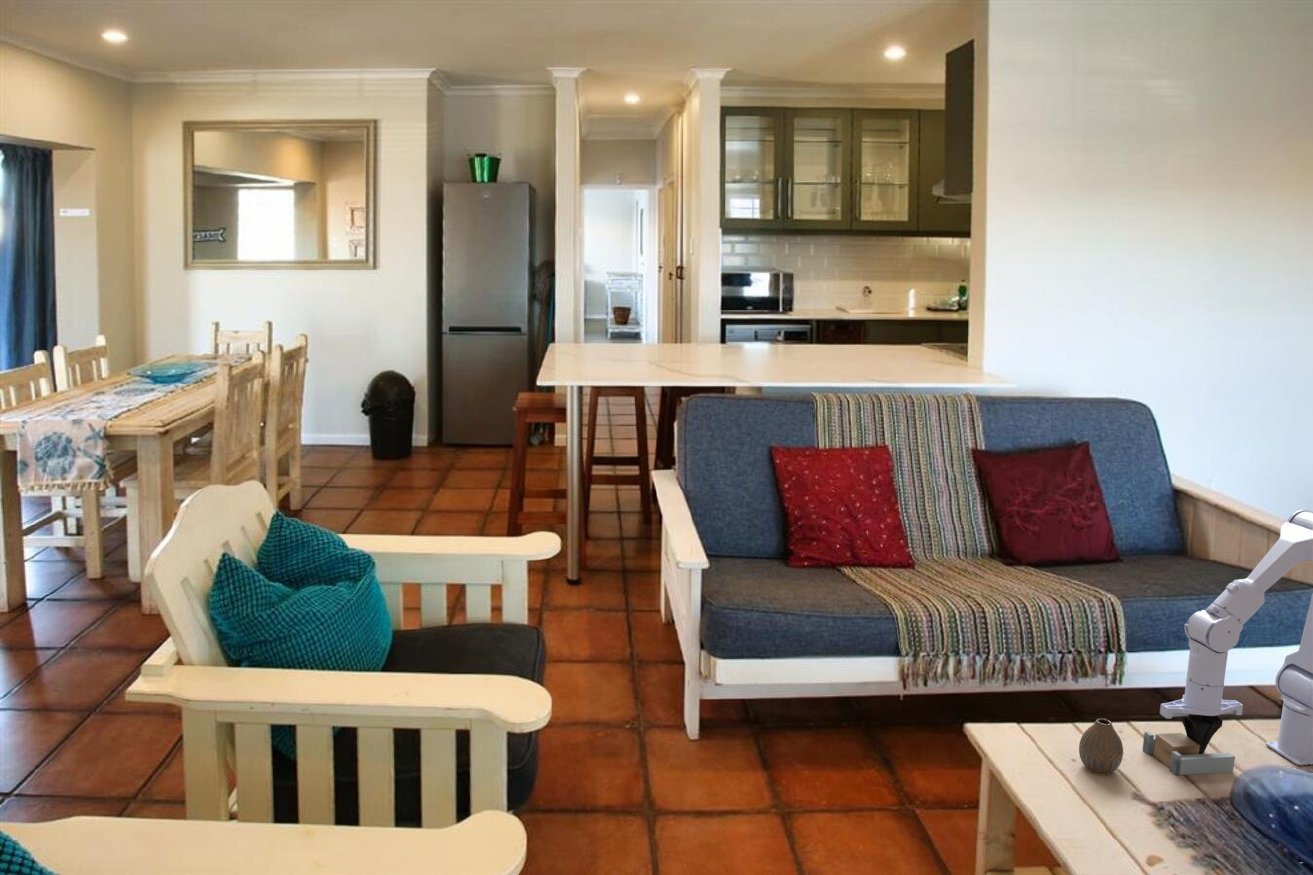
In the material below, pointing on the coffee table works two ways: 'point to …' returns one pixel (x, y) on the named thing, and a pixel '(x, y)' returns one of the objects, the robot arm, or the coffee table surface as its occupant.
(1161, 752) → the walnut block
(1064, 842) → the coffee table surface
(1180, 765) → the pair of lipped bars
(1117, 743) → the vase
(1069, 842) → the coffee table surface
